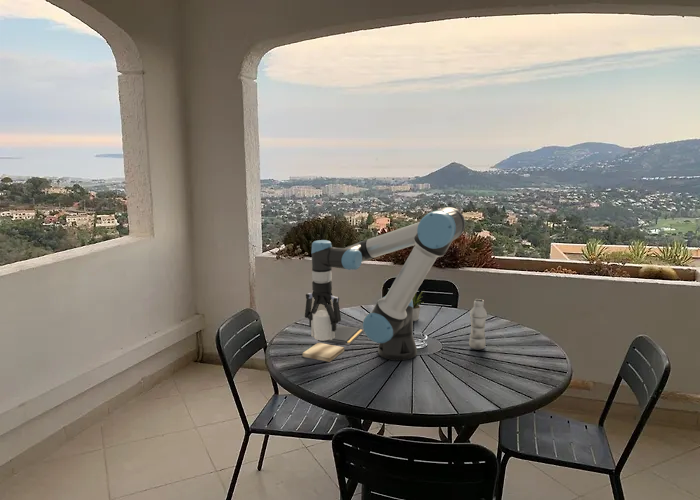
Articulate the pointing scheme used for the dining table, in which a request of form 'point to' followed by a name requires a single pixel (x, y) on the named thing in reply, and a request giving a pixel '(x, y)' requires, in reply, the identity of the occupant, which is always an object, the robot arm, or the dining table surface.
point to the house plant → (416, 307)
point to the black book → (344, 335)
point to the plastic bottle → (478, 325)
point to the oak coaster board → (323, 352)
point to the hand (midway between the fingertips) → (323, 336)
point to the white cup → (321, 325)
